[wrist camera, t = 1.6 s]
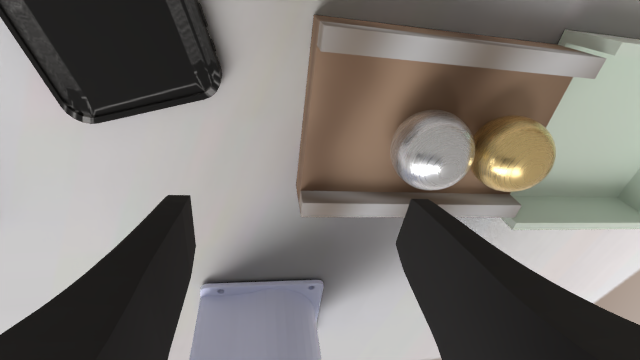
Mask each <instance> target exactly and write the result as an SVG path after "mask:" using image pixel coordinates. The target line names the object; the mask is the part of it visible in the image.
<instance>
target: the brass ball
mask: <svg viewBox="0 0 640 360" xmlns="http://www.w3.org/2000/svg"><path fill="white" fill-rule="evenodd" d="M473 138H474V142H475V156H474V160H473V163H472V165H471V167H470V169H471V171H472V173H473V174H474V176H475V177H476V178H477V179H478V180H479V181H480V182H481V183H483V184H484V185H486V186H488V187H489V188H492V189H495V190H498V191H503V192H517V191H522V190H526V189H528V188H531V187H533V186H535V185H537V184H538V183H540V182H541V181H542V180H543V179H544V178H545V177H546V176H547V175H548V174H549V172H550V171H551V169H552V167H553V165H554V162H555V157H556V146H555V142H554V140H553V137H552V136H551V134H550V132H549V131H548V130H547V129H546V128H545V127H544V126H543V125H542V124H540V123H539V122H537V121H535V120H533V119H531V118H528V117H524V116H517V115H511V116H503V117H499V118H496V119H493V120H491V121H489V122H488V123H486V124H485V125H483V126H482V127H481V128H480V129H479V130H478V131H477V132H476V133H475V134H474V136H473Z"/></svg>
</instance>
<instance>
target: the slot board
mask: <svg viewBox="0 0 640 360" xmlns="http://www.w3.org/2000/svg"><path fill="white" fill-rule="evenodd" d="M606 59H607V58H603V57H600V56H596V55H593V54H589V53H586V52H582V51H579V50H575V49H571V48H568V47H564V46H561V45H557V44H549V43H540V42H532V41H524V40H516V39H508V38H500V37H491V36H483V35H475V34H467V33H459V32H451V31H442V30H434V29H426V28H418V27H410V26H402V25H393V24H385V23H377V22H369V21H361V20H353V19H344V18H336V17H328V16H320V15H314V18H313V27H312V37H311V47H310V56H309V66H308V76H307V85H306V95H305V105H304V114H303V124H302V134H301V143H300V153H299V163H298V172H297V182H296V188H297V194H298V201H299V207H300V214H301V217H405V215H406V212H407V209H408V206H409V203H410V200H411V199H429V200H430V201H432V202H434V203H435V204H437V205H438V206H439V207H441V208H442V209H444V210H445V211H446V212H448V213H449V214H451V215H452V216H453V217H473V218H515V216H516V214H517V213H518V211H519V209H520V208H521V206H522V205H521V204H520V203H519V202H518V201H517V200H515V199H514V198H513V197H512V196H511V195H510V193H511V192H503V191H498V190H495V189H492V188H489V187H488V186H486V185H484V184H483V183H481V182H480V181H479V180H478V179H477V178H476V177H475V176H474V174H473V173H472V171H471V169H469V171H468V172H467V174H466V175H465V176H464V177H463V178H462V179H461V180H460V181H458V182H457V183H456V184H454V185H452V186H450V187H447V188H445V189H441V190H432V191H431V190H422V189H418V188H415V187H413V186H411V185H409V184H408V183H406V182H405V181H404V180H403V179H402V178H401V177H400V176H399V175H398V174H397V172H396V171H395V169H394V167H393V165H392V161H391V157H390V146H391V141H392V138H393V135H394V133H395V131H396V130H397V128H398V127H399V126H400V125H401V124H402V123H403V122H404V121H405V120H406V119H407V118H409V117H410V116H412V115H414V114H416V113H418V112H421V111H426V110H442V111H446V112H449V113H452V114H454V115H456V116H457V117H459V118H460V119H461V120H462V121H463V122H464V123H465V124H466V125H467V126H468V128H469V129H470V131H471V133H472V135H473V136H474V134H475V133H476V132H477V131H478V130H479V129H480V128H481V127H482V126H483V125H485V124H486V123H488V122H489V121H491V120H493V119H496V118H499V117H503V116H511V115H517V116H524V117H528V118H531V119H533V120H535V121H537V122H539V123H540V124H542V125H543V126H544V127H545V128H546V127H547V125H548V123H549V121H550V119H551V117H552V116H553V114H554V112H555V110H556V108H557V106H558V105H559V103H560V101H561V99H562V97H563V95H564V93H565V92H566V90H567V88H568V86H569V84H570V82H571V80H572V79H573V77H579V78H589V79H595V78H596V76H597V74H598V73H599V71H600V69H601V68H602V66H603V64H604V62H605V61H606Z"/></svg>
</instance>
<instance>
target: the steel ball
mask: <svg viewBox="0 0 640 360" xmlns="http://www.w3.org/2000/svg"><path fill="white" fill-rule="evenodd" d="M474 156H475V142H474V138H473V135H472V133H471V131H470V129H469V128H468V126H467V125H466V124H465V123H464V122H463V121H462V120H461V119H460V118H459V117H457V116H456V115H454V114H452V113H449V112H446V111H442V110H426V111H421V112H418V113H416V114H414V115H412V116H410V117H409V118H407V119H406V120H405V121H404V122H403V123H402V124H401V125H400V126H399V127H398V128H397V130H396V131H395V133H394V135H393V138H392V141H391V146H390V157H391V161H392V165H393V167H394V169H395V171H396V172H397V174H398V175H399V176H400V177H401V178H402V179H403V180H404V181H405V182H406V183H408V184H409V185H411V186H413V187H415V188H418V189H422V190H431V191H432V190H441V189H445V188H447V187H450V186H452V185H454V184H456V183H457V182H458V181H460V180H461V179H462V178H463V177H464V176H465V175H466V174H467V172H468V171H469V169H470V167H471V165H472V163H473V160H474Z"/></svg>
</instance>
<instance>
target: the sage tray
mask: <svg viewBox="0 0 640 360" xmlns="http://www.w3.org/2000/svg"><path fill="white" fill-rule="evenodd" d="M558 45H561V46H564V47H568V48H571V49H575V50H579V51H582V52H586V53H589V54H593V55H596V56H600V57H603V58H607V59H606V61H605V62H604V64H603V66H602V68H601V69H600V71H599V73H598V74H597V76H596V78H595V79H589V78H579V77H573V79H572V80H571V82H570V84H569V86H568V88H567V90H566V92H565V93H564V95H563V97H562V99H561V101H560V103H559V105H558V106H557V108H556V110H555V112H554V114H553V116H552V117H551V119H550V121H549V123H548V125H547V127H546V129H547V130H548V131H549V132H550V134H551V136H552V137H553V140H554V142H555V146H556V157H555V162H554V165H553V167H552V169H551V171H550V172H549V174H548V175H547V176H546V177H545V178H544V179H543V180H542V181H541V182H540V183H538V184H537V185H535V186H533V187H531V188H528V189H526V190H522V191H517V192H511V193H510V195H511V196H512V197H513V198H514V199H515V200H517V201H518V202H519V203H520V204H521V205H522V206H521V208H520V209H519V211H518V213H517V214H516V216H515V218H502V220H503V221H504V222H505V223H506V224H507V225H508V226H509V227H510V228H511V229H512V230H580V229H640V39H634V38H626V37H619V36H612V35H604V34H597V33H589V32H582V31H574V30H567V29H565V30H564V32H563V35H562V37H561V39H560V41H559V43H558Z"/></svg>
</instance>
